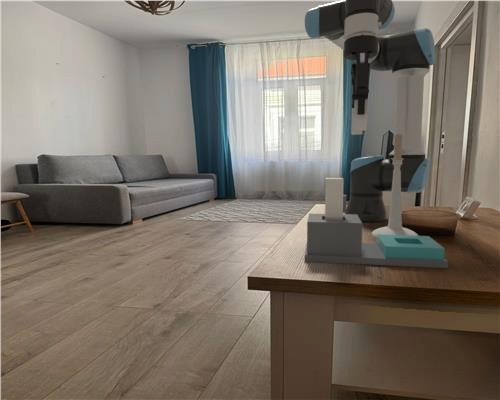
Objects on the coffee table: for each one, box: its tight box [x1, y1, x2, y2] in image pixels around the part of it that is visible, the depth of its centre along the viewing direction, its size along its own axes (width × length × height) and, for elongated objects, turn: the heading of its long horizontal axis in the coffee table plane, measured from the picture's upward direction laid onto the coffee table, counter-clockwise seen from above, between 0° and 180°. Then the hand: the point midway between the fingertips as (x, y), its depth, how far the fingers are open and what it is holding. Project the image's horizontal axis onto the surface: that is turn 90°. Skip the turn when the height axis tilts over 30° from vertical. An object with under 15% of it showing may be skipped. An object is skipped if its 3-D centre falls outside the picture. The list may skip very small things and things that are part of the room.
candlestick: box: [371, 133, 419, 239], centre depth 105 cm, size 13×13×30 cm
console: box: [304, 213, 449, 269], centre depth 86 cm, size 30×14×9 cm, turn 79°
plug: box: [324, 177, 347, 220], centre depth 87 cm, size 5×4×12 cm
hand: (358, 132), depth 86 cm, fingers open, 13 cm apart
